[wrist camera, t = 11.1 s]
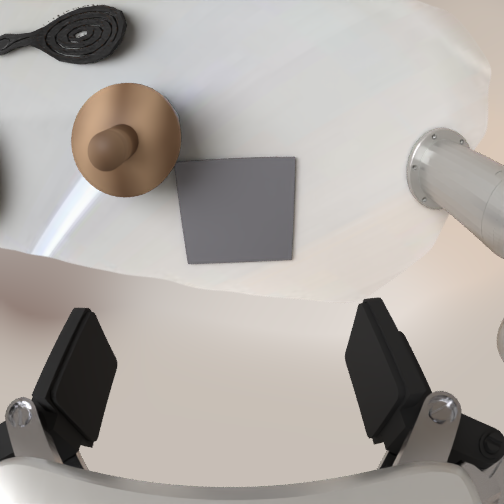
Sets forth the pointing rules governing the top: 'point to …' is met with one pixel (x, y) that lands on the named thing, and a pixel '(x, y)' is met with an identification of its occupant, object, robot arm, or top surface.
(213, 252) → the mat
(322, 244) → the top surface
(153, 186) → the lid
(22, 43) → the hairbrush
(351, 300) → the top surface
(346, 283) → the top surface
